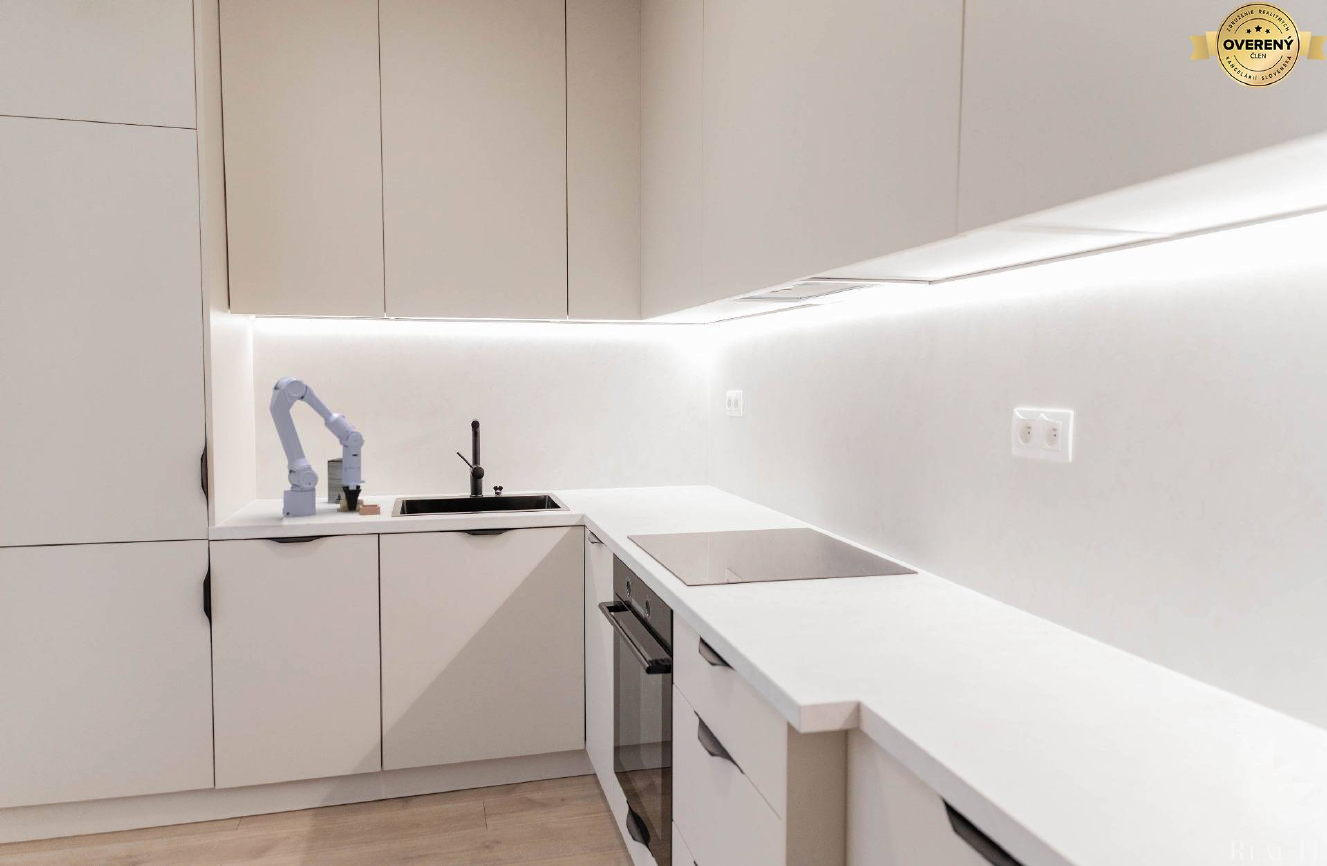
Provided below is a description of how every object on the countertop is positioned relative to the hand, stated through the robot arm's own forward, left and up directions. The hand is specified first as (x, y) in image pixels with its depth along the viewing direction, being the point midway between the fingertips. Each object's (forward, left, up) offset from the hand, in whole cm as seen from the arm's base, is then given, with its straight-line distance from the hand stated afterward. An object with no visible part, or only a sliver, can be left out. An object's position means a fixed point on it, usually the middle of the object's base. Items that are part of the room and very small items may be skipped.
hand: (351, 508), depth 267 cm
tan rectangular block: (0, 0, 0) cm, 0 cm away
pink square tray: (+5, -8, -2) cm, 10 cm away
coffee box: (-2, +19, -2) cm, 19 cm away
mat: (0, 0, -2) cm, 2 cm away
